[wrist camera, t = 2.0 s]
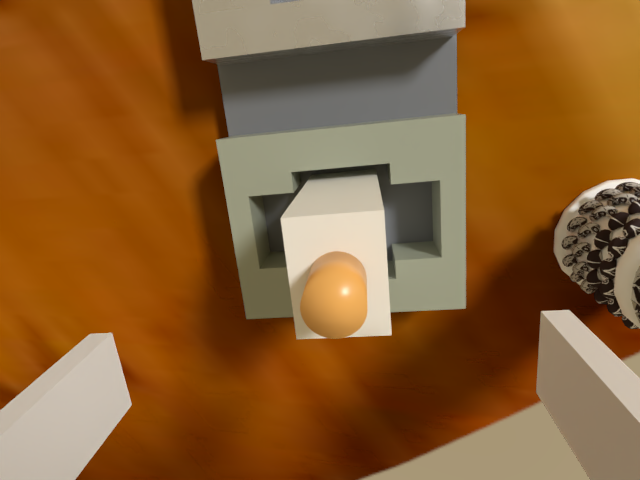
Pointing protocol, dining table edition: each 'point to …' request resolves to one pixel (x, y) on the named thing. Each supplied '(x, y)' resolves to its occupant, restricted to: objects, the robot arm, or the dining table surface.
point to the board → (347, 113)
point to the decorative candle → (604, 246)
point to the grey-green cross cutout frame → (348, 151)
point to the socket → (317, 26)
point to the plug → (338, 257)
